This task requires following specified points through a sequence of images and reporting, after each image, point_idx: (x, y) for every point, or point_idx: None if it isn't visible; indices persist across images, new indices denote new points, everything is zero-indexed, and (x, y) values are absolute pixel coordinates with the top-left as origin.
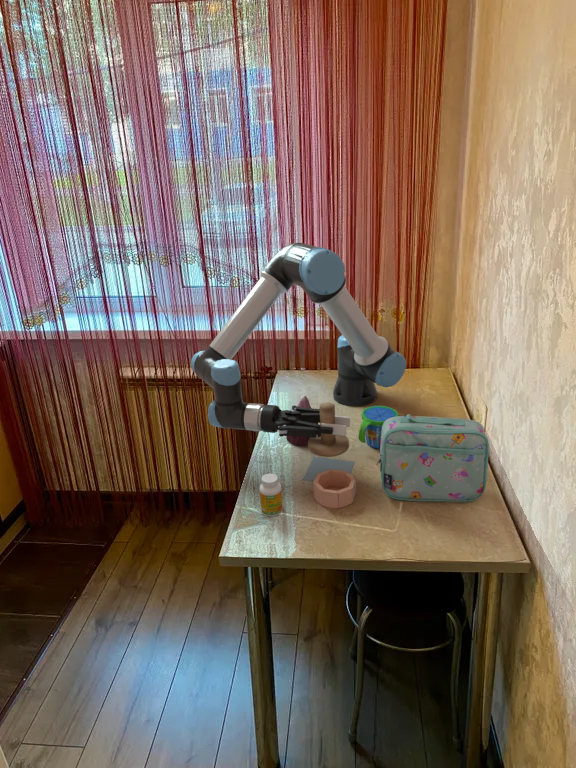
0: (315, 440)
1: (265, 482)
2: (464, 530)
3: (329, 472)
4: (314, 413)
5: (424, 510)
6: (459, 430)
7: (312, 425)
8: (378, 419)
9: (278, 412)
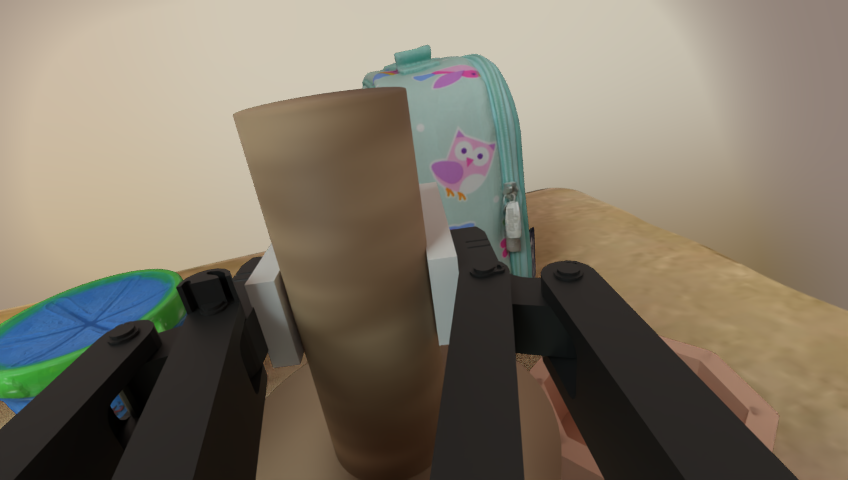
0: None
1: None
2: (545, 225)
3: (581, 446)
4: (172, 384)
5: None
6: (438, 58)
7: (507, 303)
8: (134, 312)
9: None
